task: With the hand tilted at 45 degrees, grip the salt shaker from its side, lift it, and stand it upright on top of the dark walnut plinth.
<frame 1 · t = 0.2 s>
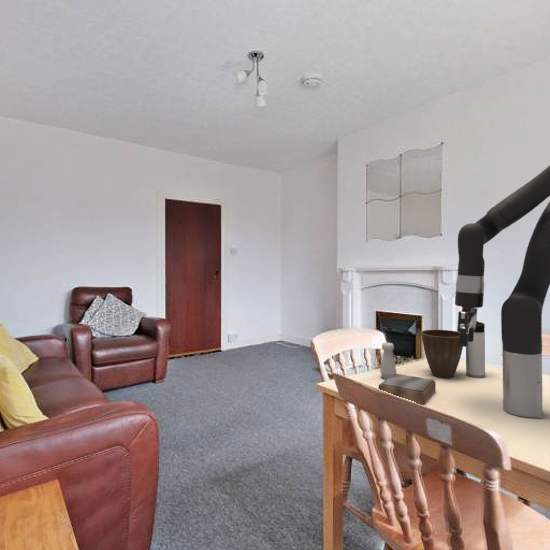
hand: (466, 343, 112), 18 cm above the table, tool pointing down, fingers open, 8 cm apart
travel mug: (475, 375, 137), on the table
plinth: (407, 393, 120), on the table
salt shaker: (388, 378, 137), on the table
plant pot: (443, 375, 139), on the table
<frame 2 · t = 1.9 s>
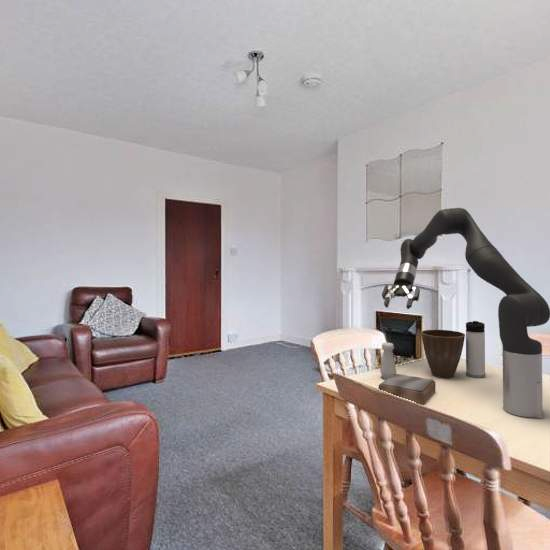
hand: (396, 307, 145), 25 cm above the table, tool tilted 45°, fingers open, 8 cm apart
nothing on the table moved.
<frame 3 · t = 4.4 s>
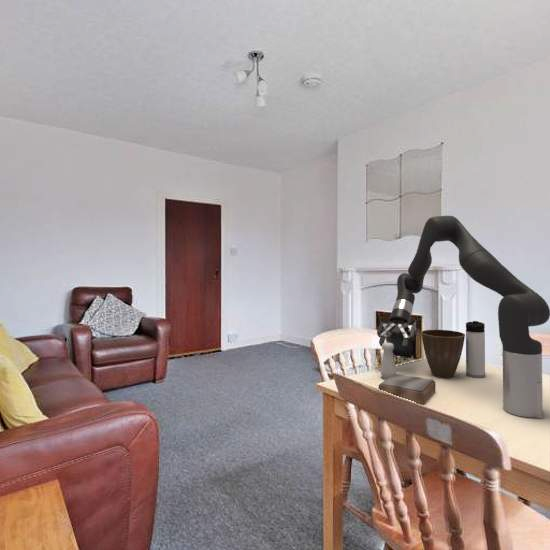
hand: (392, 346, 140), 11 cm above the table, tool tilted 45°, fingers open, 8 cm apart
nothing on the table moved.
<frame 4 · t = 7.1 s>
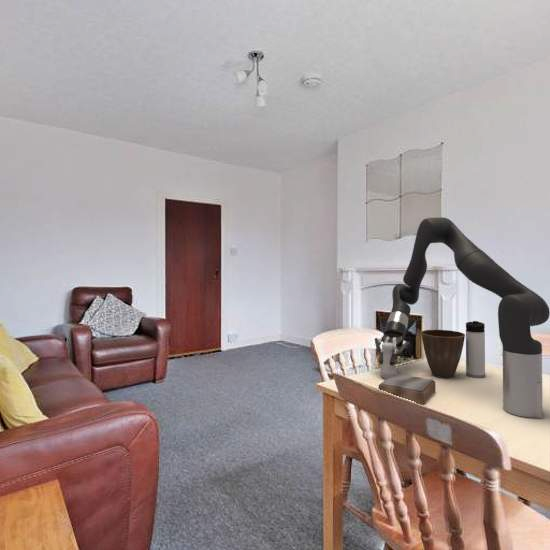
hand: (386, 363, 135), 6 cm above the table, tool tilted 45°, fingers closed on salt shaker, 3 cm apart
salt shaker: (388, 378, 137), on the table, touching gripper
everything else where it was.
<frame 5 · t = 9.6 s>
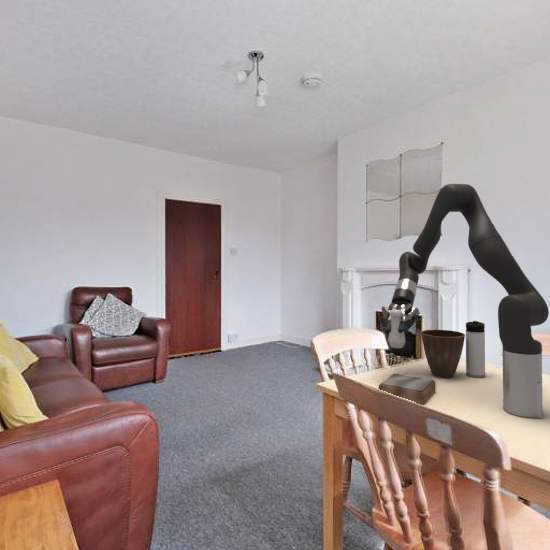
hand: (394, 331, 127), 19 cm above the table, tool tilted 45°, fingers closed on salt shaker, 3 cm apart
salt shaker: (397, 347, 129), point 13 cm above the table, touching gripper
everything else where it was.
when the fingers open (11 cm above the table, at t = 12.5 s): salt shaker drops 1 cm, resting on plinth.
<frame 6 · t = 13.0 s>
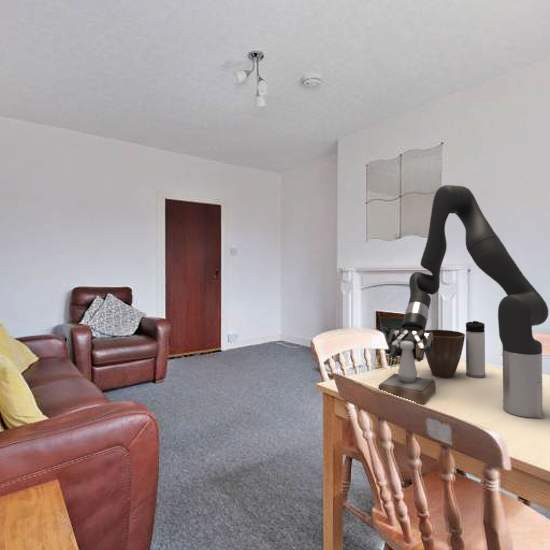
hand: (405, 358, 119), 12 cm above the table, tool tilted 45°, fingers open, 7 cm apart
salt shaker: (407, 381, 120), point 4 cm above the table, touching plinth
everything else where it was.
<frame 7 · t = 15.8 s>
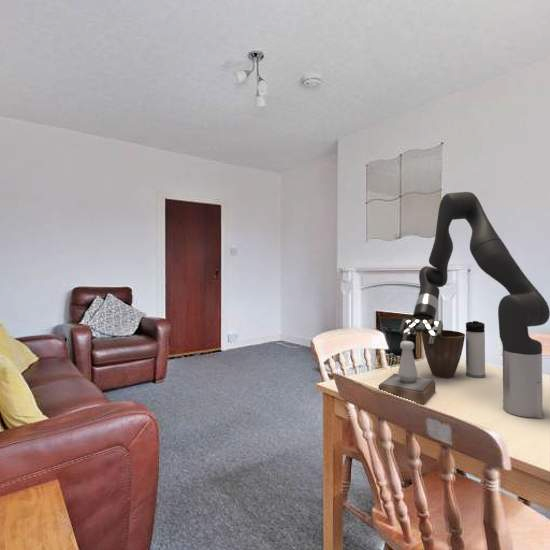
hand: (417, 344, 129), 14 cm above the table, tool tilted 45°, fingers open, 8 cm apart
nothing on the table moved.
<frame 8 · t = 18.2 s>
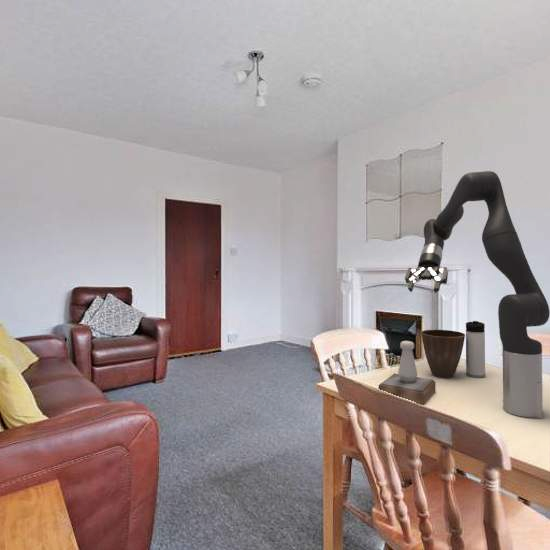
hand: (422, 290, 131), 33 cm above the table, tool tilted 45°, fingers open, 8 cm apart
nothing on the table moved.
at the end: salt shaker inside the target area on the plinth (0.6 cm from its centre), point 3.8 cm above the plinth's base; salt shaker tilted 0°; the gripper is holding nothing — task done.
